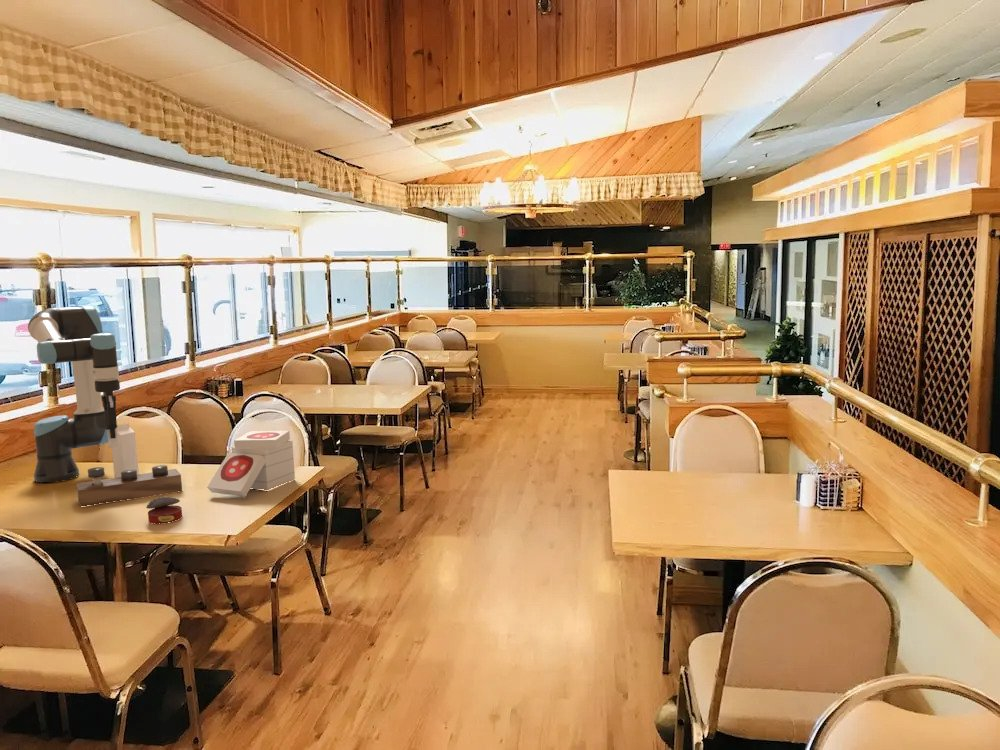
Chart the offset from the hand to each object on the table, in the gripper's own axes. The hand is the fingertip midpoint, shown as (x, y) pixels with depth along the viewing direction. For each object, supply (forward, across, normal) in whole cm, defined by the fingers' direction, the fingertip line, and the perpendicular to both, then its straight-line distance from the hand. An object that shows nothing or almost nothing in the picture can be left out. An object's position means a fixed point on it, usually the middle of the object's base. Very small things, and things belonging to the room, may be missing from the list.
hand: (113, 447), depth 271 cm
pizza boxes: (+18, +20, +42) cm, 49 cm away
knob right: (+16, +1, +14) cm, 21 cm away
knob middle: (+16, +1, +4) cm, 16 cm away
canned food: (+18, +36, +8) cm, 41 cm away
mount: (+18, +1, +4) cm, 18 cm away
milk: (+18, -19, +6) cm, 27 cm away
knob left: (+13, 0, -6) cm, 15 cm away
